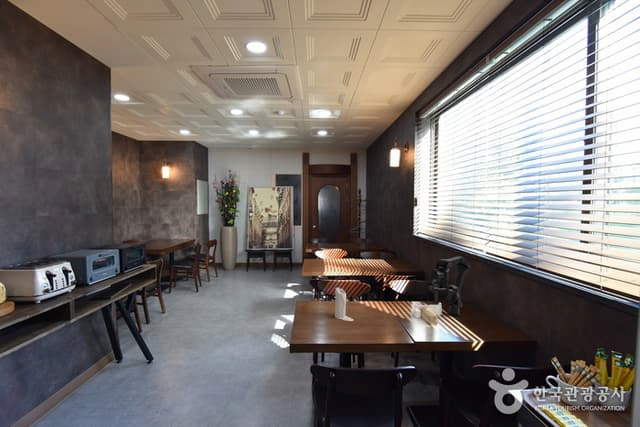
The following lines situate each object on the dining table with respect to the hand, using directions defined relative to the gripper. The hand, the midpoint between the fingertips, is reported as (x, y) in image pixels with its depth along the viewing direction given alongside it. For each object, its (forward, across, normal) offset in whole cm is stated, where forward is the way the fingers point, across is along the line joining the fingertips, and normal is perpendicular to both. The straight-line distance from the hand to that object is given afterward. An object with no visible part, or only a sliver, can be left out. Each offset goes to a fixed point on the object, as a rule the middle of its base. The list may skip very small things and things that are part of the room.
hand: (442, 300), depth 218 cm
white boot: (+12, +67, -8) cm, 69 cm away
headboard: (+12, +7, -5) cm, 15 cm away
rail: (+12, +12, +3) cm, 17 cm away
